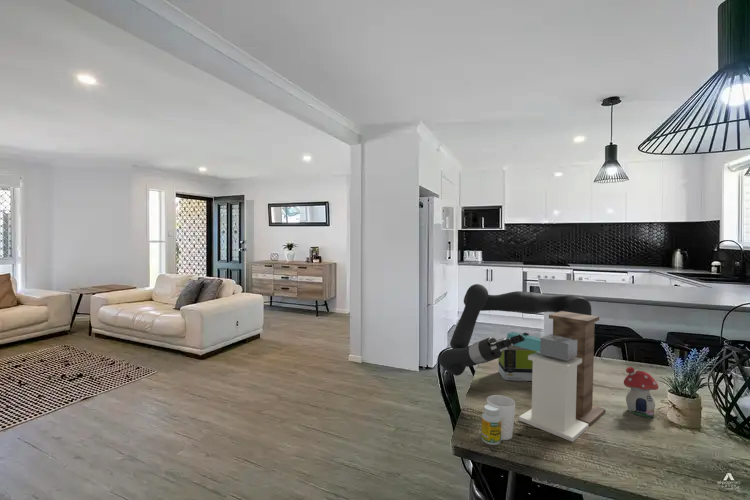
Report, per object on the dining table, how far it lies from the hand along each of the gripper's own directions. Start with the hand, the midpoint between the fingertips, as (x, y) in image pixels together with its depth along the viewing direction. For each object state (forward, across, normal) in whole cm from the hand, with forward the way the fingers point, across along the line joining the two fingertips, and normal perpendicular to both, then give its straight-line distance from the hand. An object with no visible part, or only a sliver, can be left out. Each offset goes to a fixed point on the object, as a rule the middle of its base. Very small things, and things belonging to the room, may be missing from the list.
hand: (525, 336), depth 120 cm
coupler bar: (+2, 0, +5) cm, 6 cm away
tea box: (-27, +29, +14) cm, 42 cm away
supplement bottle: (-11, -23, +23) cm, 35 cm away
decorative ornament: (+9, +30, +35) cm, 47 cm away
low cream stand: (-4, 0, +27) cm, 27 cm away
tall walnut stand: (-4, +14, +27) cm, 31 cm away
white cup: (-11, -18, +23) cm, 31 cm away
